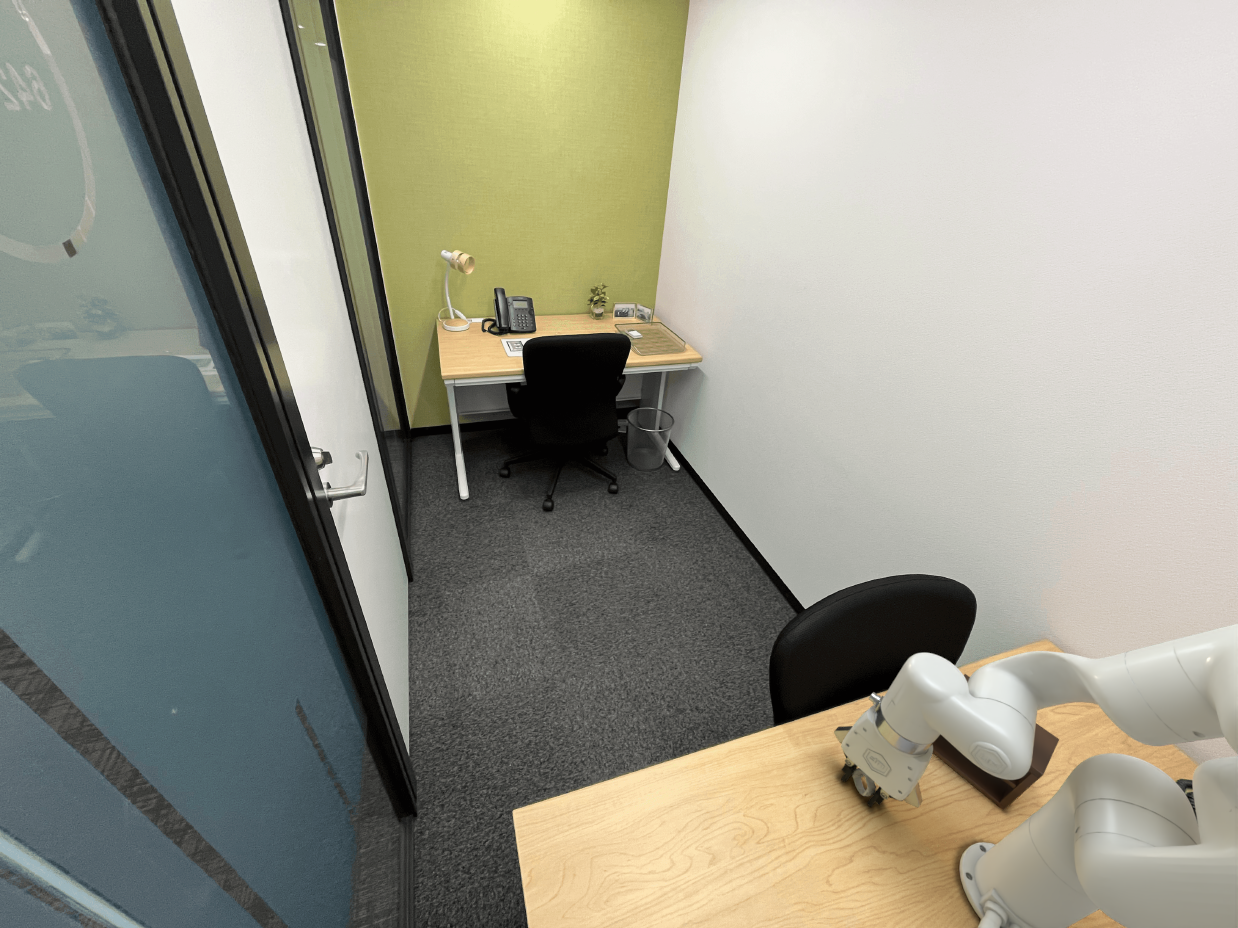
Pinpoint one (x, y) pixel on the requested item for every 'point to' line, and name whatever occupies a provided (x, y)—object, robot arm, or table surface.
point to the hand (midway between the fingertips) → (860, 786)
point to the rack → (993, 786)
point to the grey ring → (858, 783)
